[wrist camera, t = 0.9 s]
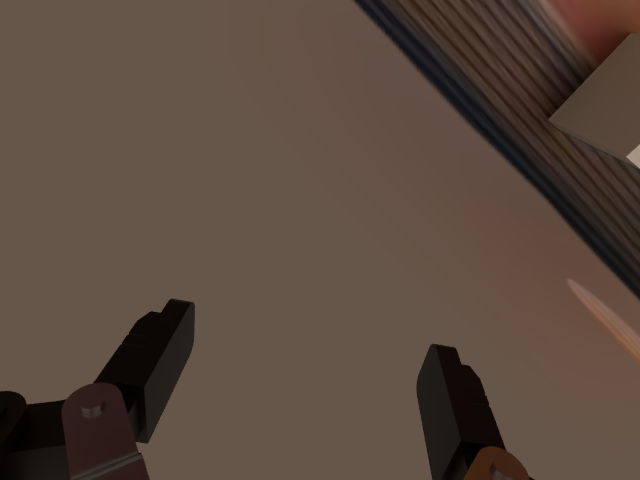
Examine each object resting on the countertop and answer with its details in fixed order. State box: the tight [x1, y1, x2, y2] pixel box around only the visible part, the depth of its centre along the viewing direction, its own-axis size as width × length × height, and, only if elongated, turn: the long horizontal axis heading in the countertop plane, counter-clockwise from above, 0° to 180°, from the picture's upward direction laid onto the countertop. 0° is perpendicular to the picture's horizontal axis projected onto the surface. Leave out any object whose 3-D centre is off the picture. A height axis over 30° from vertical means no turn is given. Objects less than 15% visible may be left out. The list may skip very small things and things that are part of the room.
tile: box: [548, 33, 640, 170], centre depth 28 cm, size 8×2×11 cm, turn 145°
